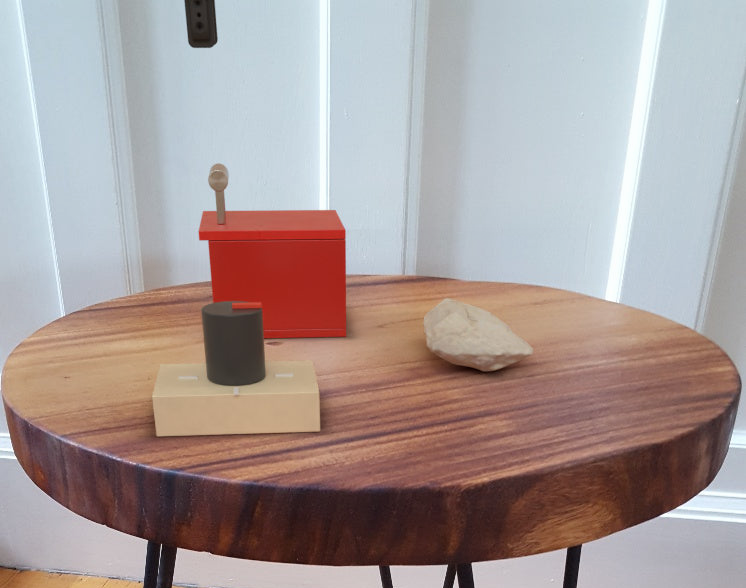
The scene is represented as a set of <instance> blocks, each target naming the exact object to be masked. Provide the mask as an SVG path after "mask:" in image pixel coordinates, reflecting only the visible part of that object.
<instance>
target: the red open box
mask: <svg viewBox="0 0 746 588" xmlns="http://www.w3.org/2000/svg"><path fill="white" fill-rule="evenodd" d="M207 243H208V256H209V257H208V258H209V267H210V268H209V269H210V282H211V293H212V303H216V302H224V301H244V302H251V303H253V302H261V306H262V314H263V332H264V339H298V338H301V339H302V338H339V337H340V338H341V337H342V338H343V337H344V338H345V337H347V260H346V259H347V251H346V250H347V240H346V239H291V240H207Z"/></svg>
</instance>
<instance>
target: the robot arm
mask: <svg viewBox="0 0 746 588" xmlns="http://www.w3.org/2000/svg"><path fill="white" fill-rule="evenodd" d="M183 1H184V10H185V21H186V23H185V24H186V33H187V42H188V44H189V46H190V47H191V48H193V49H211V48H213V47H214V46H215V45H216V44H217V43H218V38H219V37H218V26H217V13H216V12H217V11H216V0H183Z"/></svg>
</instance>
